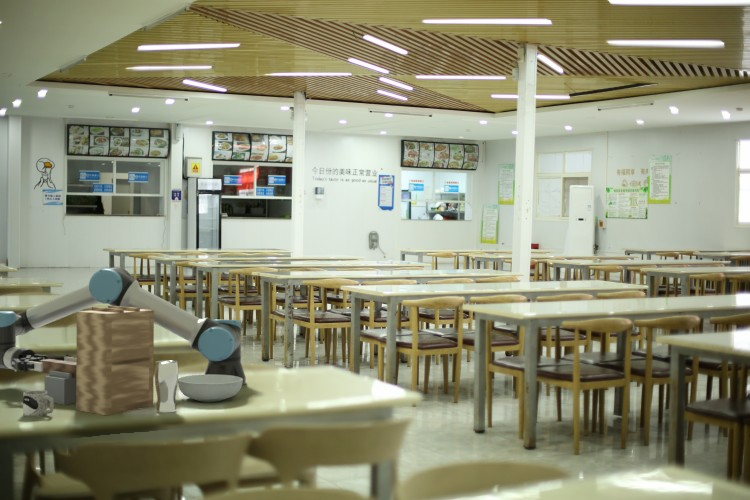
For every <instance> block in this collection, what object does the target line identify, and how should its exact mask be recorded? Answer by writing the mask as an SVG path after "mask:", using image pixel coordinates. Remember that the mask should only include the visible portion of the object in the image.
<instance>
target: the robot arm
mask: <svg viewBox="0 0 750 500" xmlns="http://www.w3.org/2000/svg"><path fill="white" fill-rule="evenodd" d="M97 304H102V305H103V304H104V305H105V304H107V305H108V306H120V307H133V308H140V309H145V310H154V325H155V324H156V325H158V326H159V327H161V328H163V329H164V330H167V331H168V332H171V333H173V334H175V335H176V336H179V337H180V338H182V339H184V340H186V341H187V342H188V343H189V346H190V348H192V349H193V350H195V351H197V352H199V353H200V354H201V355H202V356H203V357H204V358H205V359H206V360H207V365H206V368H205V371H204V374H203V375H208V374H213V375H231V376H237V377H241V378H242V379H243V382H242V386H243V385H245V384H246V383H247V382H246V379H247V378H246V374H245V370H244V368H243V364H242V323H241V321H240V320H237V319H211V318H210V317H209V318H208V317H204V318H200V317H197V316H196V315H194V314H192V313H191V312H188V311H187V310H184V308H180V307H178V306H176V305H174V304H173V303H171V302H169V301H167V300H165V299H164V298H161V297H160V296H157V295H155V294H154V293H152V292H151V291H148V290H146V289H144V288H143V287H141V286H140V284H139V280H137V279H135V278H133V277H132V274H130V272H129V271H128V270H126V268H122V267H117V266H116V267H115V266H114V267H105V268H100V269H99V270H97V271H95V273H94V274H93V275H91V278H90V280H89V282H88V284H86V285H84V286H82V287H79V288H77V289H74V290H71V291H69V292H67V293H65V294H62V295H59V296H57V297H55V298H52V299H50V300H48V301H45V302H42V303H40V304H37V305H35V306H32V307H30V308H28V309H25V310H23V311H20V312H18V313H16V312H14V311H13V310H12V311H11V310H1V311H0V369H9V370H14V372H17V371H21V372H23V373H28V372H30V371H34V372H39V371H43V363H41V362H39V360H45V359H54V360H62V361H69V362H76V357H73V356H72V355H69V354H68V353H67V354H65V355H52V354H43V355H42V354H39V353H38V354H36V352H35V351H34V350H33V349H30V348H24V347H18V346H17V347H16V345H17V338H16V337H17V336H23V335H25V334H28V333H30V332H32V331H33V330H36V329H38V328H40V327H42V326H46V325H47V324H51V323H52V322H55V321H59V320H61V319H63V318H65V317H68V316H70V315H73V314H76V313H77V311H84V310H85V309H88V308H90V307H93V306H95V305H97Z"/></svg>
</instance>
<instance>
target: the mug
mask: <svg viewBox="0 0 750 500" xmlns="http://www.w3.org/2000/svg"><path fill="white" fill-rule="evenodd" d="M22 395H23V396H22V403H23V404H22V408H23V409H22V416H23V417H25V418H27V417H28V418H37V417H38V418H39V417H45V416H47V415H48V414H52V413H53V412H54V410H55V409H54V408H55V403H54V401H53V398H52V397H49V396H47V391H45V390H39V389H38V390H28V391H24V392H23V393H22ZM47 400H49V401H50V402H49V409H48V402H47Z"/></svg>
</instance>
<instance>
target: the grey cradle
mask: <svg viewBox="0 0 750 500" xmlns="http://www.w3.org/2000/svg"><path fill="white" fill-rule="evenodd" d="M44 391H47V396H49V397H52V398H53V401H54V404H56V405H57V404H58V405H63V406H65V405H70V404H76V378H73V377H72V373H65V372H59V371H50V374H49V375H45V376H44ZM47 403H50V401H49V400H47Z"/></svg>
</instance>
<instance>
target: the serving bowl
mask: <svg viewBox="0 0 750 500" xmlns="http://www.w3.org/2000/svg"><path fill="white" fill-rule="evenodd" d="M242 382H243V379H242V378H241V377H237V376H231V375H213V374H208V375H204V374H194V375H193V374H192V375H186V376H180V377H178V384H177V387H178V388H179V389H178V390H179V391H180V393H182V395H184V397H186V398H189V399H192V400H196V401H198V402H204V403H205V402H207V403H213V402H221V401H224V400H227V399H230V398H233V397H234V396H236V395H237V394H238V393H239V392H240V390H241V388H242V386H243V385H242Z"/></svg>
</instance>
